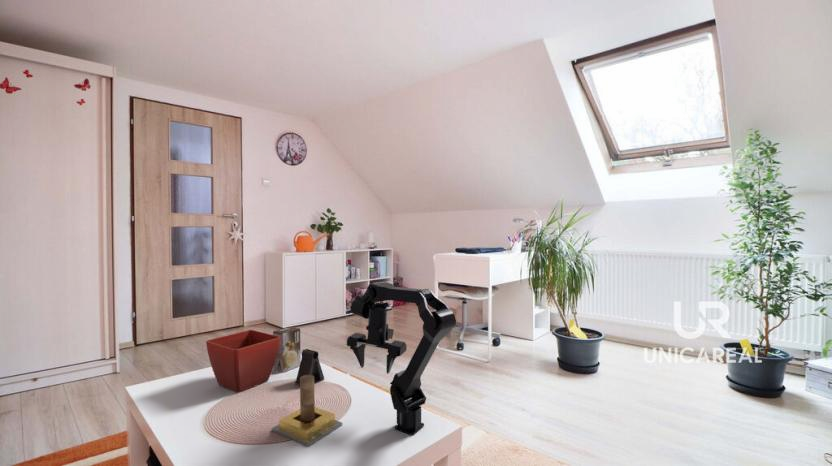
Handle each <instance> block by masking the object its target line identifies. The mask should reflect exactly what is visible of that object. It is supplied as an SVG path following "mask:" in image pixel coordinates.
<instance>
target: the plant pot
mask: <svg viewBox="0 0 832 466" xmlns="http://www.w3.org/2000/svg"><path fill="white" fill-rule="evenodd" d="M279 343H280V337H279V336H275V335H273V334H270V333H266V332H262V331H258V330H254V329H247V330H244V331H240V332H236V333H235V332H234V333H232V334H227V335H223V336H218V337H216V338H210V339H207V340H205V344H206V350H207V354H208V359H209V362H210V365H211V366H210V367H211V368H212V372H213V374H214V377H215V380H216V381H217V384H218V385H219V386H220V387H224V388H226V389H228V390H231V391H233V392H235V393H240V392H244V391H246V390H249V389H251V388H254V387H257V386H259V385H261V384H264V383H267V382H268V381H269V379H270V377H271V374H272V371H273V370H274V363H275V360H276V356H277V353H278V348H279Z"/></svg>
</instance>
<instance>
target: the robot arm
mask: <svg viewBox="0 0 832 466" xmlns="http://www.w3.org/2000/svg"><path fill="white" fill-rule="evenodd" d="M385 301H386V302H385ZM387 301H393V302H400V303H403V302H404V303H409V304H415V305H416V306H417V311H418V316H419V318H420V319H421V321H422V322H423V324H422V333H423V334H422V337H421V339H420V341H419V343H418V345H417V347H416V349H415V350H414V353H413V354H412V356H411V359H410V360H409V362H408V364H407V367H406V368H405V369H404V370H400V371H399V372H396V373H395V374H394V375H393V378H392V381H391V382H389V384H390V388H389V392H390V393H389V394H390V397H391V398H390V399H391V402H392V406H393V409H394V410H396V424H397V425H395V426H394V429H395V430H397V431H399V432H402V433H406V434H408V435H412V436H413V435H415V434H416V433H418V431H419V430H421V429H422V428H423V427H424V426H425V423H424V422H422V405H425V404H426V400H427V397H426V395H425V394H424V392H423V390H422V388H421V387H422V380H421V377H422V375H423V373H424V371H425V369H426V367H427V366H428V364H429V362H430V360H431V358H432V356H433V355H434V352H435V351H436V349H437V347H438V345H439V343H440V342H441V341H442V340H443V339H444V338H445V337H446V336H447V335H449V334H450V333H451V331H452V330H453V329H454V327H455V326H456V325H457V319H456V316H455V313H454V312H453V310H451V309H450V307H448V305H447V304H446V303H445V302H444V301H443V300H441V299H440V298H439V297H437V296H436V295H435V293H434V292H433V291H432V290H431V289H428V288H424V289H422V288H413V287H412V288H411V287H410V288H409V287H408V288H407V287H401V286H400V287H398V286H395V285H394V284H393V283H390V282H387V281H385V282H384V281H383V282H377V283H376V282H375V283H369V284H368V285H367V288H366V290H365V291H364V293H363V294H357V295H356V296H355V299H354V300H353V301H352V302H351V305H350V312H351V313H352V314H353V315H354V316H357V317H360V318H363V319H365V320H367V323H368V324H367V326H366V327H365V330H366V331H367V336H366V334H365V333H359V332H354V333H353V334H351V335H349V336H348V337H347V338H346V347H349V349H350V350H351V351H352V352H353V353H354V355H355V357H356V359H357V362H358V363H359V366H360V368H364V366H365V351H366V350H365V349H366V346H370V347H375V348H379V349H385V350H387V353H388V354H387V355H386V374H387V375H388V374H389V373H391V370H392V367H393V366H394V362H395V360H396V359H397V358H398V357H401V355H403V354H404V353H405V352H406V351H407V347H408V346H407V344H406V342H405V341H401V340H396V339H395V340H393V338H394V337H393V336H394V331H395V330H394V329H393V328H389V323H387V319H388V318H387V317H388V312H390V311H392V310H393V308H392V306H391V305H390V304H389V302H387ZM381 302H383V303H381ZM429 307H430V308H432V309H433V311H431V310H430V309H429ZM390 339H392V340H393V341H392V342H391V343H390V342H388V341H389V340H390ZM386 341H387V342H386Z"/></svg>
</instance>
